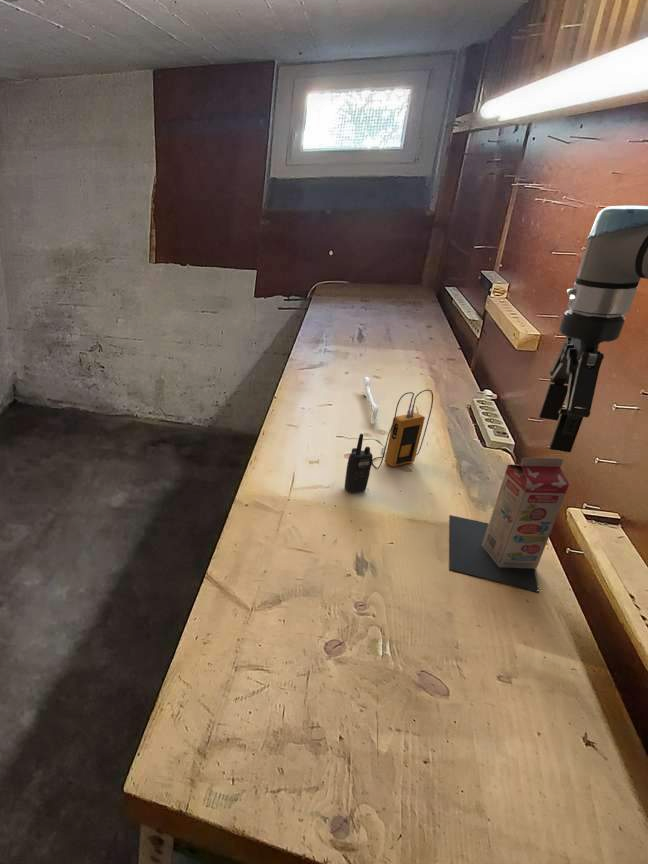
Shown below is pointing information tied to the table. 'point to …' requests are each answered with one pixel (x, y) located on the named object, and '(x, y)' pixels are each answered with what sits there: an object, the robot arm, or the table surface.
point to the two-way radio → (358, 468)
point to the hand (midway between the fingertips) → (553, 433)
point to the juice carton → (525, 512)
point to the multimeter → (404, 436)
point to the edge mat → (482, 556)
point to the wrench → (370, 399)
